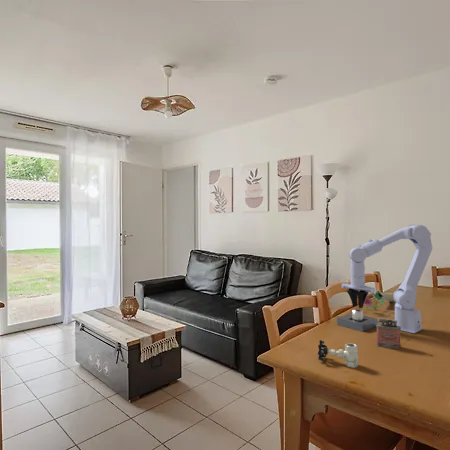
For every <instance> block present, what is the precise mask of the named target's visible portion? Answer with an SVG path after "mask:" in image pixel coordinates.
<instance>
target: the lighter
mask: <svg viewBox="0 0 450 450" xmlns="http://www.w3.org/2000/svg"><path fill="white" fill-rule="evenodd" d="M377 319H378V324H376V346H377V347H381V348H386V349H387V348H388V349H401V348H402V345H401V330H400V329H401V327H400V326H397V320H395V319H392V318H377Z"/></svg>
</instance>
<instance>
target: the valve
mask: <svg viewBox="0 0 450 450" xmlns="http://www.w3.org/2000/svg"><path fill="white" fill-rule="evenodd" d="M358 347H359V346H358V345H357V344H355V343H354V342H352V343H351V342H349V343H345V344H344V349H343V348H339V349H338V350H336V349H334V348H333V349H332V348H331V349H329V348H328V346H327V345H325V340H321V339H320V340H319V344H318V346H317V348H318V351H317V355H318V357H317V358H318V360H319V361H324V358H326V357H327V356H328V355H329V354H330V355H331V356H337V357H338V359H342V360H343V359H345V360H344V364H345V366H346V367H348V368H353V369H355V368H358V366H359V361H358V360H359V349H358Z"/></svg>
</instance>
